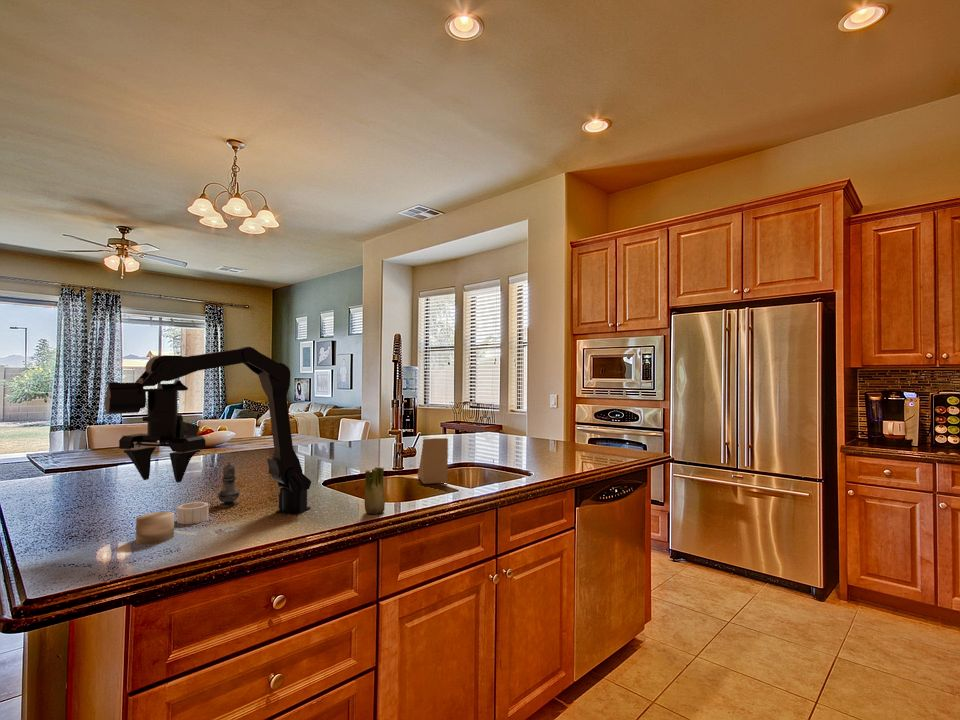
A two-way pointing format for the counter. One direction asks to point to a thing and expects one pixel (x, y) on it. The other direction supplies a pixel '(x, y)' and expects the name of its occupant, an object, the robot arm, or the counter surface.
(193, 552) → the counter surface
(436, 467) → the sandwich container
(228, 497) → the salt shaker
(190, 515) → the bowl
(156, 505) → the counter surface
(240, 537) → the counter surface
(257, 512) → the counter surface
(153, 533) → the beige rounded cylinder
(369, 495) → the fennel bulb
